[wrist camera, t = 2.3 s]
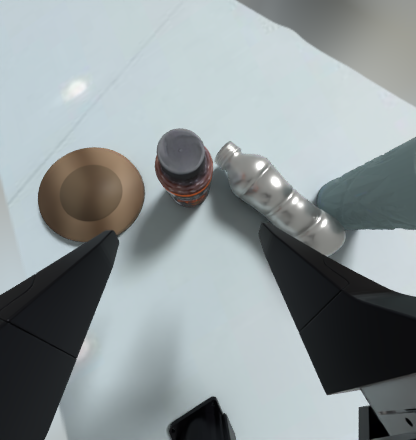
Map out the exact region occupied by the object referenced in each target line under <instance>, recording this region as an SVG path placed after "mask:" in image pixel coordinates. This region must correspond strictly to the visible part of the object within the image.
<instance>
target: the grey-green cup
mask: <svg viewBox="0 0 416 440" xmlns="http://www.w3.org/2000/svg"><path fill="white" fill-rule="evenodd" d="M317 206H318V208H319V209H321V210H323V211H325V212H327V213H328V214H330V215H331V216H333V217H334V218H336V219H337V220H338V221H339V223H340V224H341V225H342V226H343V228H344V230H358V229H372V230H375V229H381V230H383V229H388V230H394V229H395V228H403V229H408V230H416V137H415V138H413V139H411V140H409V141H407V142H405V143H404V144H402V145H400V146H398V147H396V148H394V149H392V150H390V151H389V152H387V153H385V154H384V155H381V156H379V157H377V158H374V159H373V160H371V161H369V162H367V163H365V164H364V165H362V166H359V167H357V168H356V169H353V170H351V171H350V172H348V173H346V174H344V175H342V177H339V178H336V179H334V180H332V181H330V182H328V183H327V184H325V185H324V186H323V187H322V188H321V190H320V191H319V194H318V197H317Z"/></svg>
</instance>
